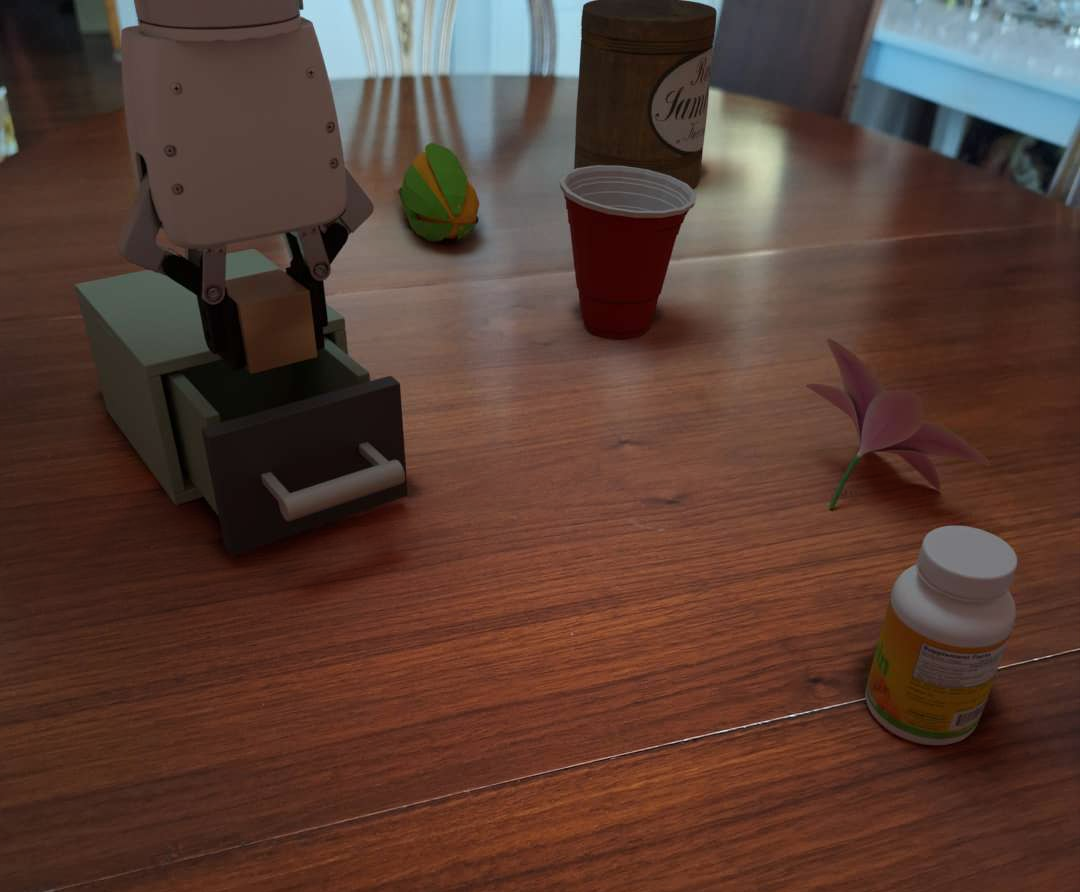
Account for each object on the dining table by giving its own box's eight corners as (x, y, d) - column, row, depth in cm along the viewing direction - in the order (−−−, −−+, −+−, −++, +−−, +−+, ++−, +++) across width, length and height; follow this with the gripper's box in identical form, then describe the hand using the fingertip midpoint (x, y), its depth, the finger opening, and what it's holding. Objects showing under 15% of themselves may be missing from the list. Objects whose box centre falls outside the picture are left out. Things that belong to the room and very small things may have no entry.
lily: (975, 564, 63) (1044, 414, 61) (815, 511, 59) (883, 350, 57) (868, 512, 74) (923, 384, 72) (728, 464, 70) (782, 328, 68)
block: (251, 374, 57) (240, 306, 55) (224, 348, 60) (212, 282, 58) (318, 357, 59) (310, 290, 57) (289, 332, 62) (280, 268, 59)
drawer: (442, 528, 62) (437, 412, 57) (261, 594, 56) (238, 472, 52) (315, 408, 73) (302, 304, 69) (155, 454, 68) (129, 344, 63)
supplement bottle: (865, 662, 54) (907, 506, 48) (974, 684, 53) (1030, 527, 47) (860, 734, 50) (905, 574, 44) (979, 760, 48) (1040, 598, 43)
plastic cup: (665, 362, 82) (679, 212, 75) (537, 340, 85) (539, 193, 78) (696, 311, 91) (712, 171, 84) (579, 293, 93) (584, 156, 86)
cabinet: (358, 449, 71) (345, 317, 65) (175, 506, 65) (144, 366, 59) (272, 368, 80) (254, 247, 75) (107, 411, 74) (74, 283, 69)
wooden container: (685, 204, 115) (706, -21, 102) (557, 188, 118) (563, -30, 106) (711, 168, 126) (733, -38, 113) (594, 155, 130) (603, -46, 117)
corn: (413, 177, 95) (385, 122, 111) (412, 257, 100) (385, 194, 115) (492, 178, 97) (453, 124, 113) (487, 257, 101) (451, 194, 117)
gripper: (343, -28, 55) (371, 298, 66) (9, -4, 47) (103, 362, 58) (411, -9, 50) (430, 340, 61) (52, 21, 42) (145, 416, 53)
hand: (270, 347), depth 59 cm, fingers closed on block, 4 cm apart
